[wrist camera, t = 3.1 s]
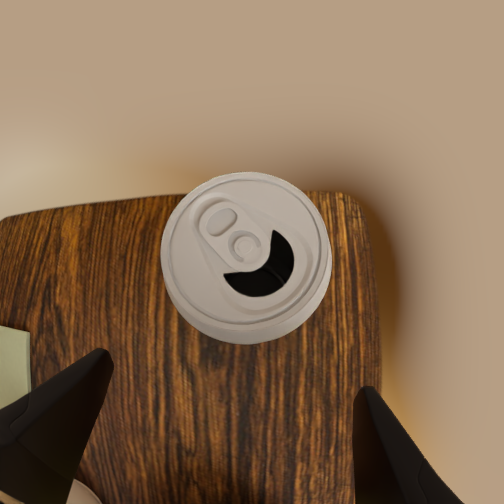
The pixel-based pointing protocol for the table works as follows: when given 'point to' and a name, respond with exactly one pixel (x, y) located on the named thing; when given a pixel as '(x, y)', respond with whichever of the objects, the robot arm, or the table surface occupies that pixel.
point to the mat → (14, 365)
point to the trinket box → (81, 494)
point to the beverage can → (246, 257)
